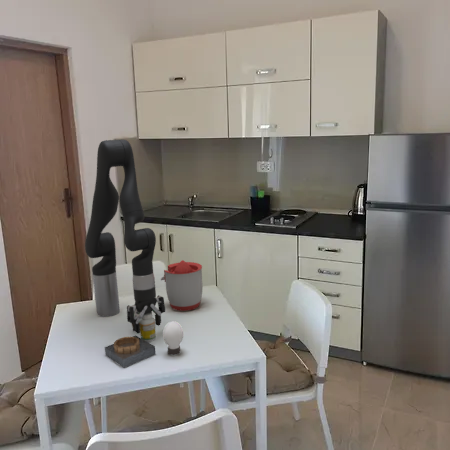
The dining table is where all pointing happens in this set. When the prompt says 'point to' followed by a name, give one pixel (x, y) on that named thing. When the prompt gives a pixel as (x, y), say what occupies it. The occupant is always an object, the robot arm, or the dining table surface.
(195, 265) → the citrus juicer
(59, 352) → the dining table surface
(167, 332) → the light bulb
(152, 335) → the supplement bottle
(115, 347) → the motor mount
